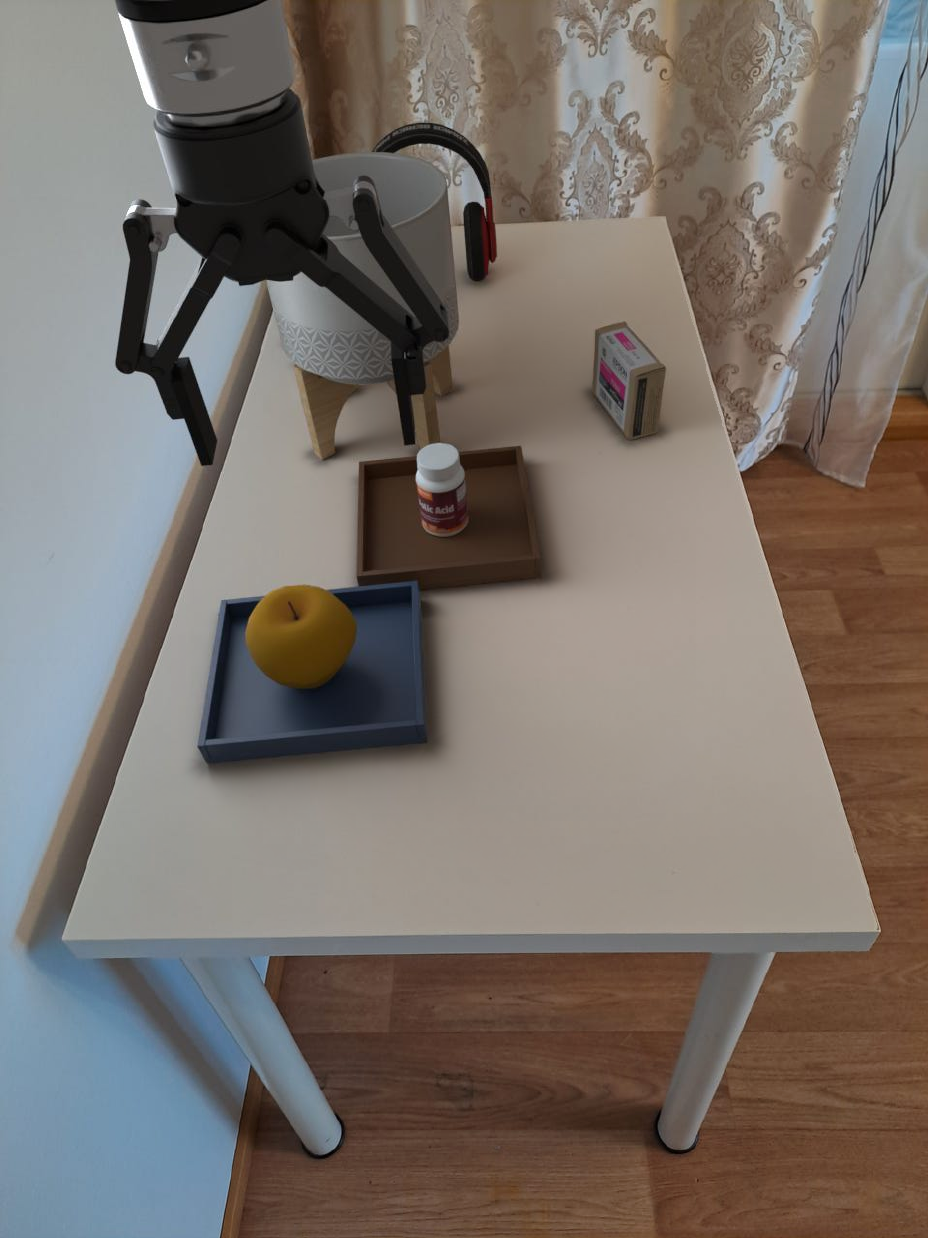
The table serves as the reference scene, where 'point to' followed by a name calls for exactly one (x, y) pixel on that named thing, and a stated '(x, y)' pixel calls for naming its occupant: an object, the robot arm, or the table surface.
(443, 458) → the pill bottle
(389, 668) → the fruit tray
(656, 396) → the ink box
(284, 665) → the apple
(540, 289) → the table surface
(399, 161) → the planter
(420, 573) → the medicine tray
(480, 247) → the headphones
